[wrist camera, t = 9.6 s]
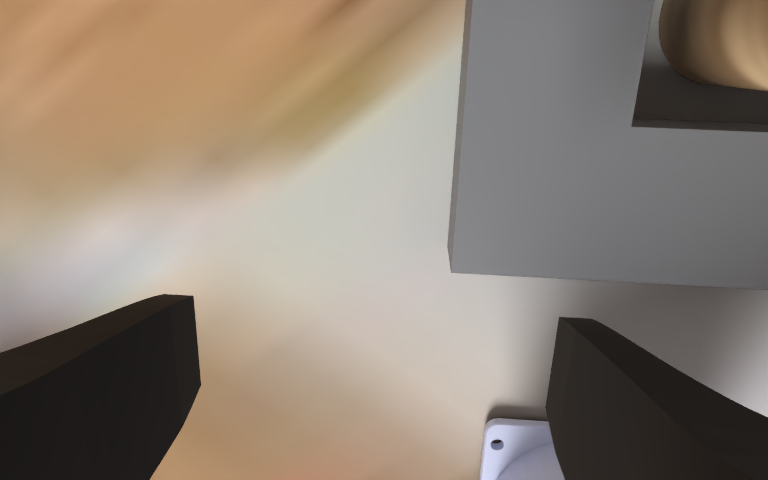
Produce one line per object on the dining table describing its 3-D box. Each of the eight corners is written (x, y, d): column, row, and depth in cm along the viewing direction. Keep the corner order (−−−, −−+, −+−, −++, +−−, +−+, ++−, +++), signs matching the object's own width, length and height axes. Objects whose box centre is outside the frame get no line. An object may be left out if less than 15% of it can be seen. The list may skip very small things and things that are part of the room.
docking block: (907, 270, 19) (976, 301, 17) (447, 246, 20) (451, 272, 18) (1122, -313, 14) (1265, -388, 12) (489, -315, 15) (502, -385, 12)
